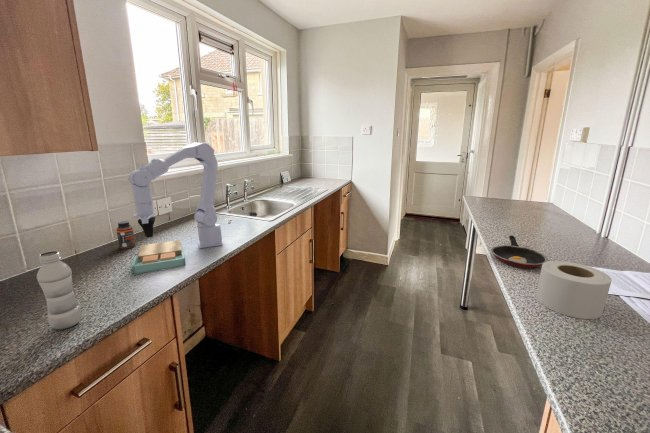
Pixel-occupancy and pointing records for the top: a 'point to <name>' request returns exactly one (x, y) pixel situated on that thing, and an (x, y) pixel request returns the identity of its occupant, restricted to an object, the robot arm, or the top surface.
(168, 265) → the tray
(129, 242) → the supplement bottle
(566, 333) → the top surface
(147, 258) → the tile
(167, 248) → the board
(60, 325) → the plastic bottle
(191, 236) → the top surface
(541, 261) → the frying pan
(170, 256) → the tile
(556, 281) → the roll of tape
